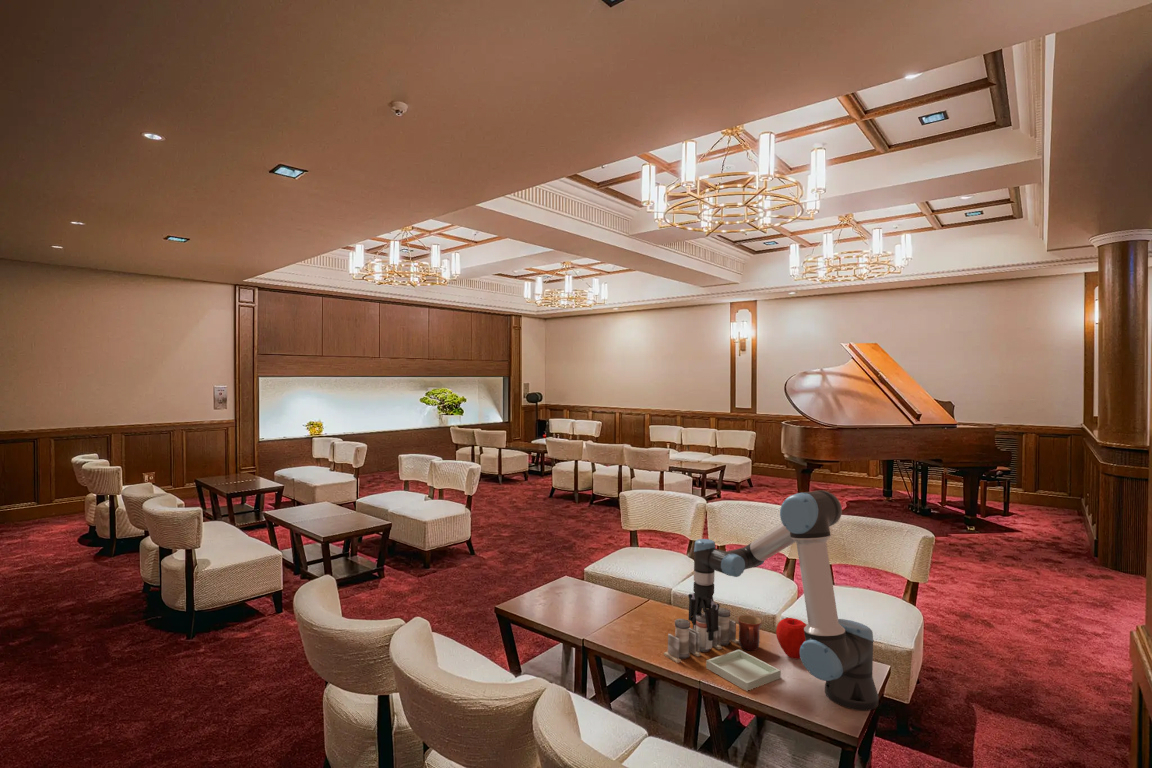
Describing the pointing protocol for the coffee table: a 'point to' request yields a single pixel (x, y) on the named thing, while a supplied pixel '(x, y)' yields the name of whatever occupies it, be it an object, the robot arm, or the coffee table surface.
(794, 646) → the apple
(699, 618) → the cylinder
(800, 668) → the coffee table surface
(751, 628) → the mug
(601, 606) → the coffee table surface
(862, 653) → the robot arm
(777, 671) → the tray
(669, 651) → the clip rack
